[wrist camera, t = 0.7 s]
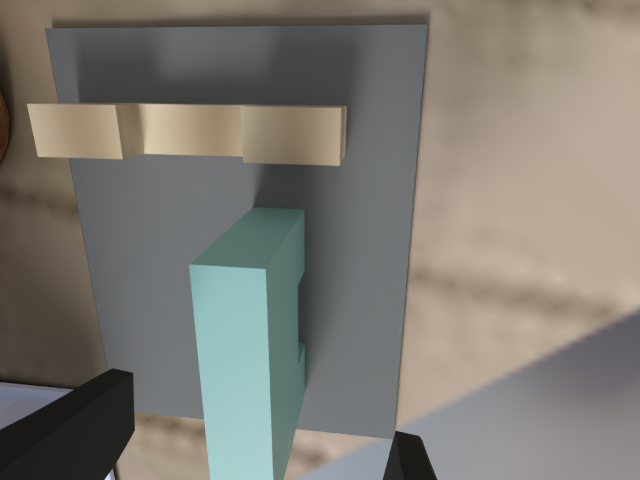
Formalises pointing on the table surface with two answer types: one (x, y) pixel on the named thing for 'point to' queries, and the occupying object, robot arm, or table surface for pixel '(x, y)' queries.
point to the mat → (254, 203)
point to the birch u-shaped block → (191, 131)
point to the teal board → (251, 343)
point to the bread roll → (3, 126)
